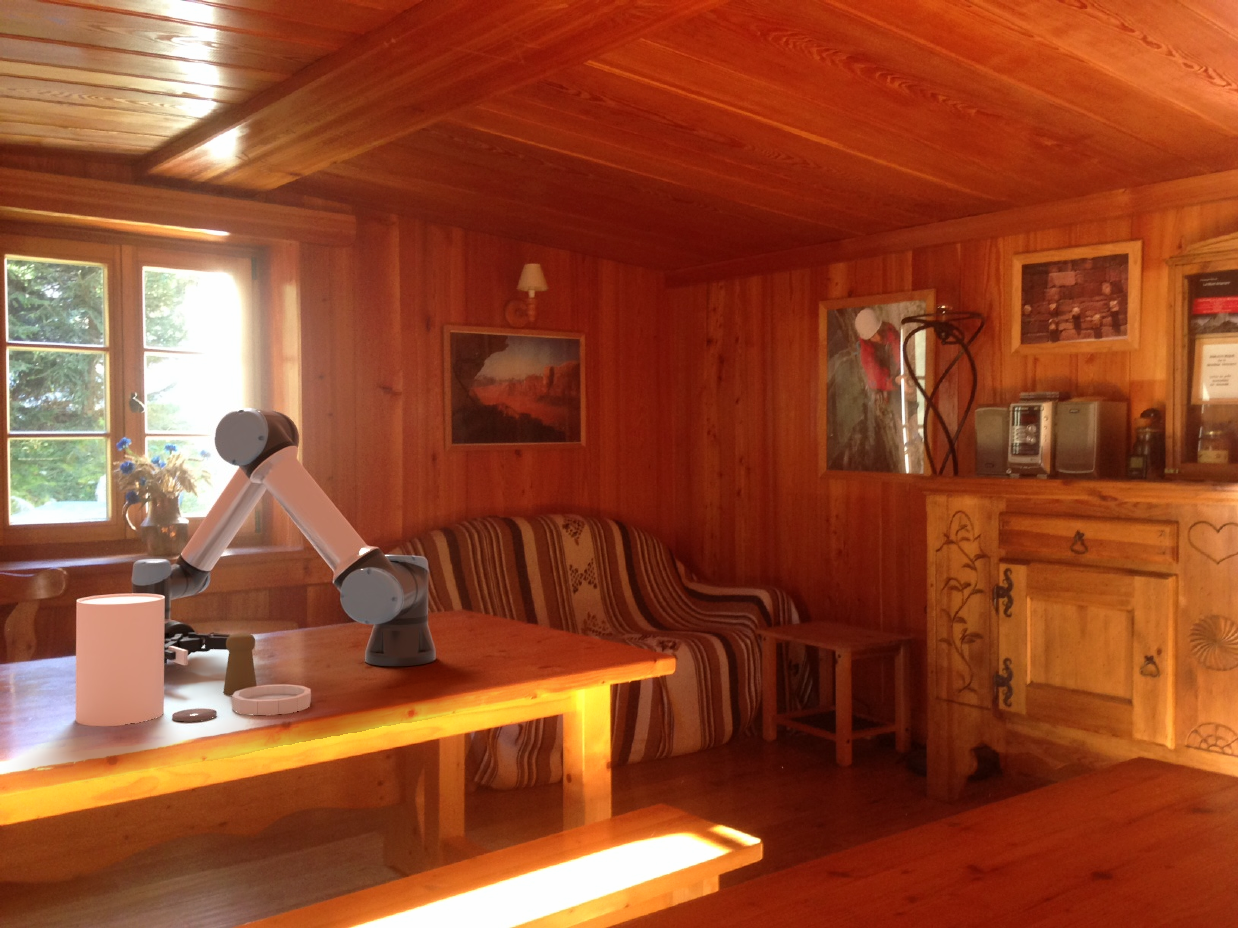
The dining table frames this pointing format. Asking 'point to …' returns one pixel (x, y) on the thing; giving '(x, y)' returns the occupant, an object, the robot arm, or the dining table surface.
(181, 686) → the dining table surface
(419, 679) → the dining table surface
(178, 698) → the dining table surface
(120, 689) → the canister
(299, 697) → the pink flat ring
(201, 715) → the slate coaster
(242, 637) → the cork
